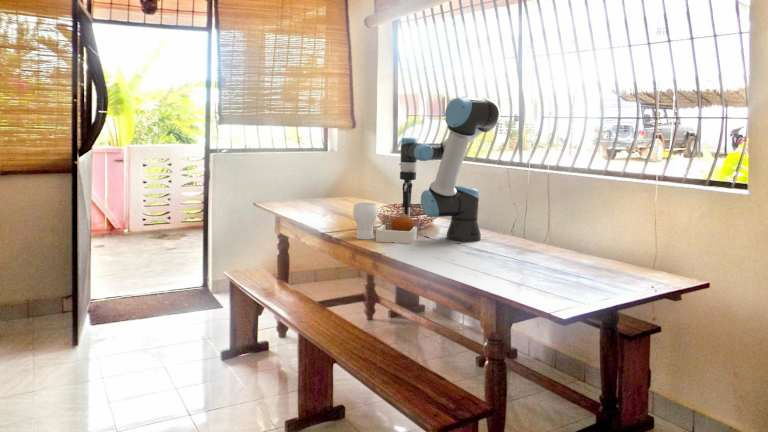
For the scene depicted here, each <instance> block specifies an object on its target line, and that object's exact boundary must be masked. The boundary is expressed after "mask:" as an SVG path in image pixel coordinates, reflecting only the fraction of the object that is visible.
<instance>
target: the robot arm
mask: <svg viewBox="0 0 768 432" xmlns="http://www.w3.org/2000/svg"><path fill="white" fill-rule="evenodd" d="M444 116H445V117H444V120H445V123H446V125H447V129H448V130H449V133H448V136H447V138H446V139H445V140H443V141H442V142H441V143H419V142H418V138H416V137H403V138H402V139H401V143H400V163H399V164H398V166H400V168H399V170H400V171H399V179H400V180H403V183H402V206H401V208H403V214H402V216H406V217H410V213H411V209H410V208H411V207H412V205H411V204H412V202H411V201H412V193H413V192H412V191H413V183H412V181H414V180H416V179H417V172H416V171H417V166H418V165H417V163H418V162H417V161H420V162H427V161H440V163H439V166H438V171H437V173H436V177H435V180H434V181H432V182H431V183H430V184H429V187H428V189H426V190H424V191H422V192H421V195H420V205H421V208H422V212H423V213H424V214H425V216H426V217H429V218H441V217H442V218H443V217H451V218H450V219H451V220H450V224H449V226H448V229H447V231H446V239H447V240H451V241H455V242H478V241H480V240H481V238H482V234H481V231H480V226H479V223H478V222H479V221H478V219H479V217H478V216H479V200H480V195H479V190H478V189H477V188H475V187H473V188H472V187H466V186H460V185H456V183H457V180H458V177H459V174H460V170H461V168H462V165H463V161H464V158H465V155H466V151H467V148H468V145H469V143H471V142H472V141H474V140H475V139H476V138H477V137H479V136H480V135H482V134H483V133H488V132H490V131H491V130H492V129H494V128H495V127H496V126H497V125H498V123H499V121H500V118H501V111H500V107H499V105H498V104H497V103H496V102H495V101H494V100H492V99H490V98H486V97H485V98H484V97H483V98H480V97H467V96H463V97H455V98H454V99H452V100H451V101H449V102H448V104H447V106H446V108H445V112H444Z"/></svg>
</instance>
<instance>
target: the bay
mask: <svg viewBox="0 0 768 432" xmlns="http://www.w3.org/2000/svg"><path fill="white" fill-rule="evenodd" d="M418 236H419V221H416V220H415V221H414V227H413V228H412V229H411V230H410V231H393V229H392V230H391V229H388V219H383V220H382V225H381V226H380V227H378V228H376V229H375V242H379V243H391V242H394V244H405V245H407V244H409V245H411V244H414V242H415V240H416V239H417V238H419V237H418Z"/></svg>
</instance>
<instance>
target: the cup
mask: <svg viewBox="0 0 768 432" xmlns="http://www.w3.org/2000/svg"><path fill="white" fill-rule="evenodd" d="M378 212H379V211H378V205H377V204H376V203H374V202H356V203H354V205H353V209H352V215H353V218H354V221H355V223H356V229H357V230H356V235H355V236H356V237H355V238H356V239H357V240H373V239H374V238H375V237H374V224H375V222H376V220H377V217H378Z"/></svg>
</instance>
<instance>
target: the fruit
mask: <svg viewBox="0 0 768 432" xmlns="http://www.w3.org/2000/svg"><path fill="white" fill-rule="evenodd" d="M414 222H415V221H414V219H412V218H411V217H410V216H409V217H406V216H403V215H397V216H396V217H394V218H393V219H392V220H391V224H390V225H391V229H392V230H393V231H410V230H411V229H412V228H413V227H414Z"/></svg>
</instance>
